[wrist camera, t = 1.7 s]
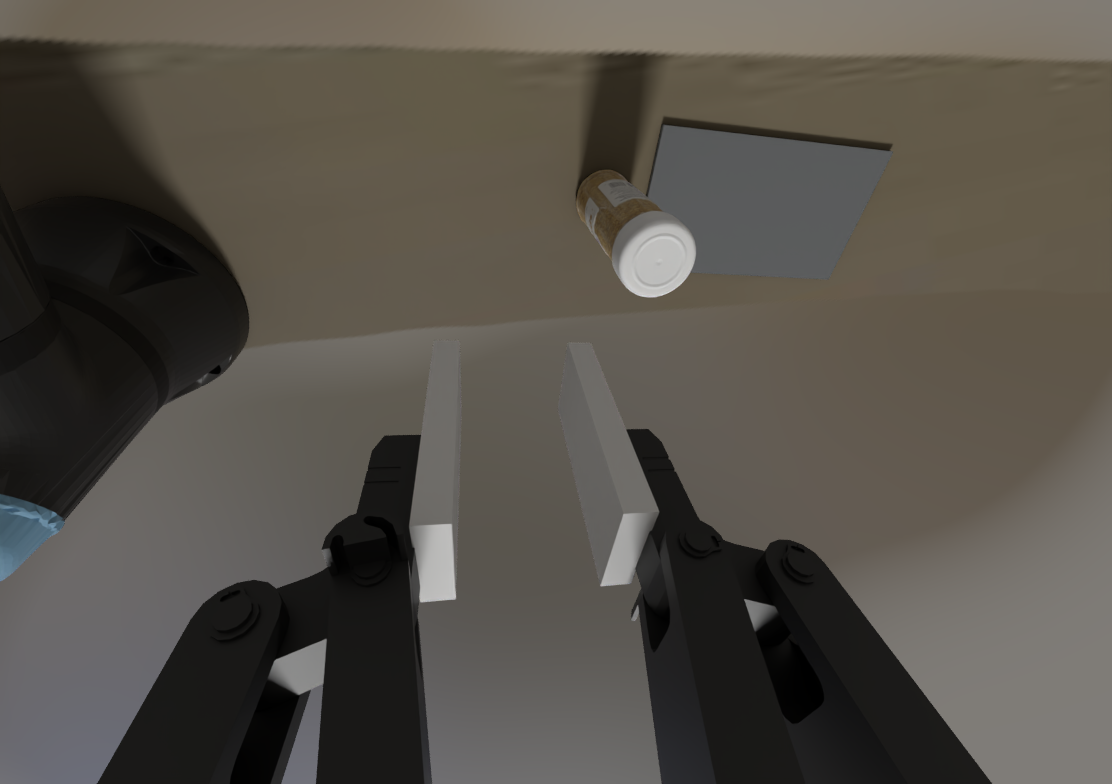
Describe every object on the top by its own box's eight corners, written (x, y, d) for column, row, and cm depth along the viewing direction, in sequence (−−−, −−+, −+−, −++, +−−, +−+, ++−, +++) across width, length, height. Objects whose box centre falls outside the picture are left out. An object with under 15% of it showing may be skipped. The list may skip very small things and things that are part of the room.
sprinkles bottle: (564, 211, 35) (604, 279, 25) (595, 155, 33) (652, 204, 22) (610, 237, 37) (665, 311, 27) (642, 186, 35) (715, 245, 24)
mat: (630, 267, 39) (631, 269, 39) (661, 124, 32) (663, 125, 32) (825, 277, 43) (828, 279, 42) (889, 150, 36) (893, 151, 36)
